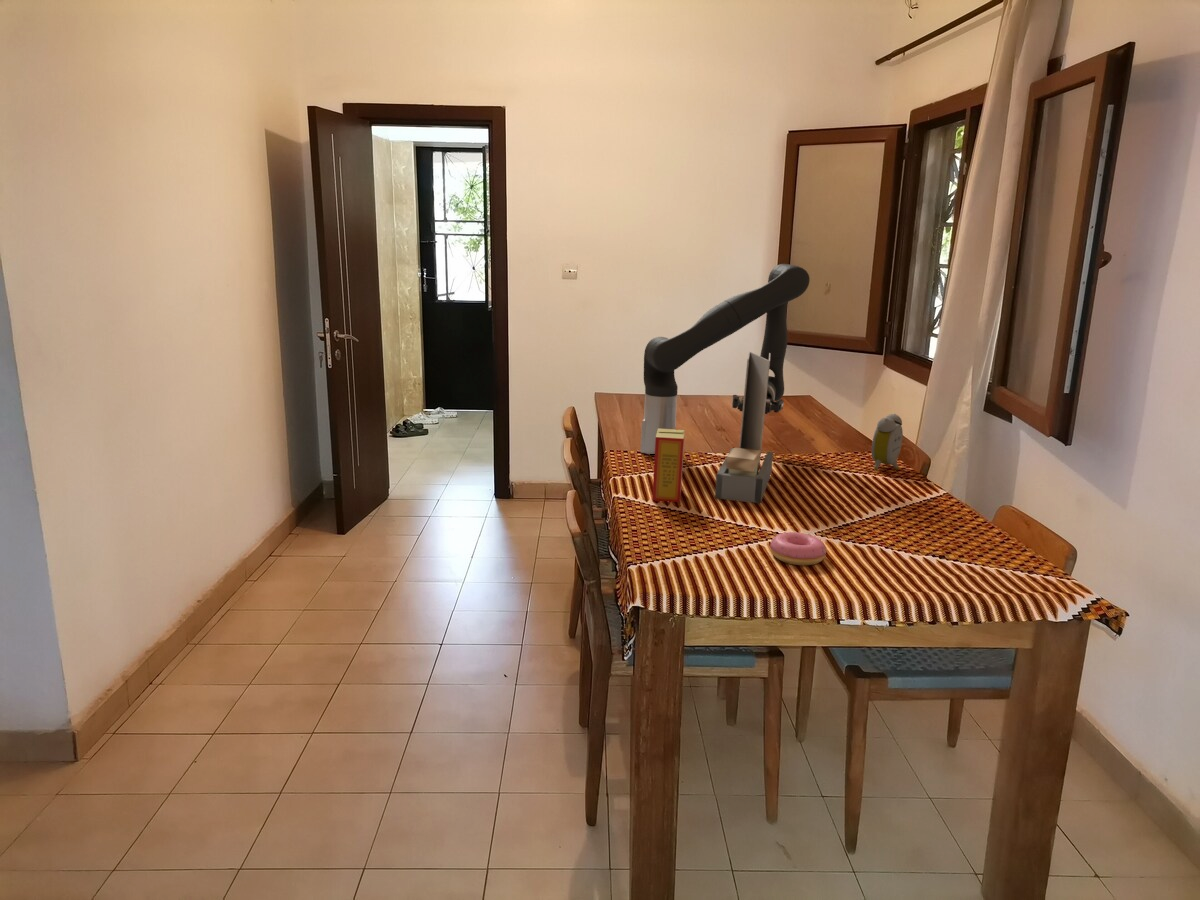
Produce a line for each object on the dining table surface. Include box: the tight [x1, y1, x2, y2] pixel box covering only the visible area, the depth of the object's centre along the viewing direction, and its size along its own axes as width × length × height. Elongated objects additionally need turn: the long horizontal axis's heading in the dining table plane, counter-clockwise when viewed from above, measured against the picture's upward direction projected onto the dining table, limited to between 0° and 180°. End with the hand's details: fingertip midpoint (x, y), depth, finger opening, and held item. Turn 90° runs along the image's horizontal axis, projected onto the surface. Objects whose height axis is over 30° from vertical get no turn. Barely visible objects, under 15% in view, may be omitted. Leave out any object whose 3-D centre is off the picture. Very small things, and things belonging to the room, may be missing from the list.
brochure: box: [738, 351, 770, 475], centre depth 212 cm, size 14×6×30 cm, turn 168°
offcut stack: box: [726, 447, 761, 477], centre depth 202 cm, size 7×10×10 cm
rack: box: [714, 447, 774, 504], centre depth 209 cm, size 11×27×6 cm, turn 163°
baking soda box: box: [651, 428, 686, 503], centre depth 197 cm, size 10×6×16 cm
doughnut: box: [769, 531, 827, 566], centre depth 163 cm, size 11×11×4 cm
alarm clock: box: [870, 413, 904, 471], centre depth 228 cm, size 12×7×15 cm, turn 145°
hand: (753, 408), depth 213 cm, fingers closed on brochure, 6 cm apart
